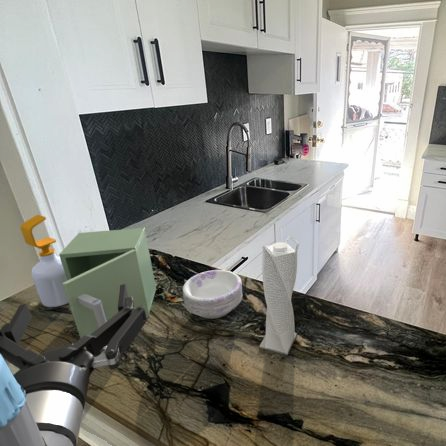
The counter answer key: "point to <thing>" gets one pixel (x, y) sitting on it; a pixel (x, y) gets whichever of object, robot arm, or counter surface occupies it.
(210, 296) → the paper bowls
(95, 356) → the robot arm
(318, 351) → the counter surface
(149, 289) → the cupboard
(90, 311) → the cupboard door
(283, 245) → the skyscraper
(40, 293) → the soap bottle
